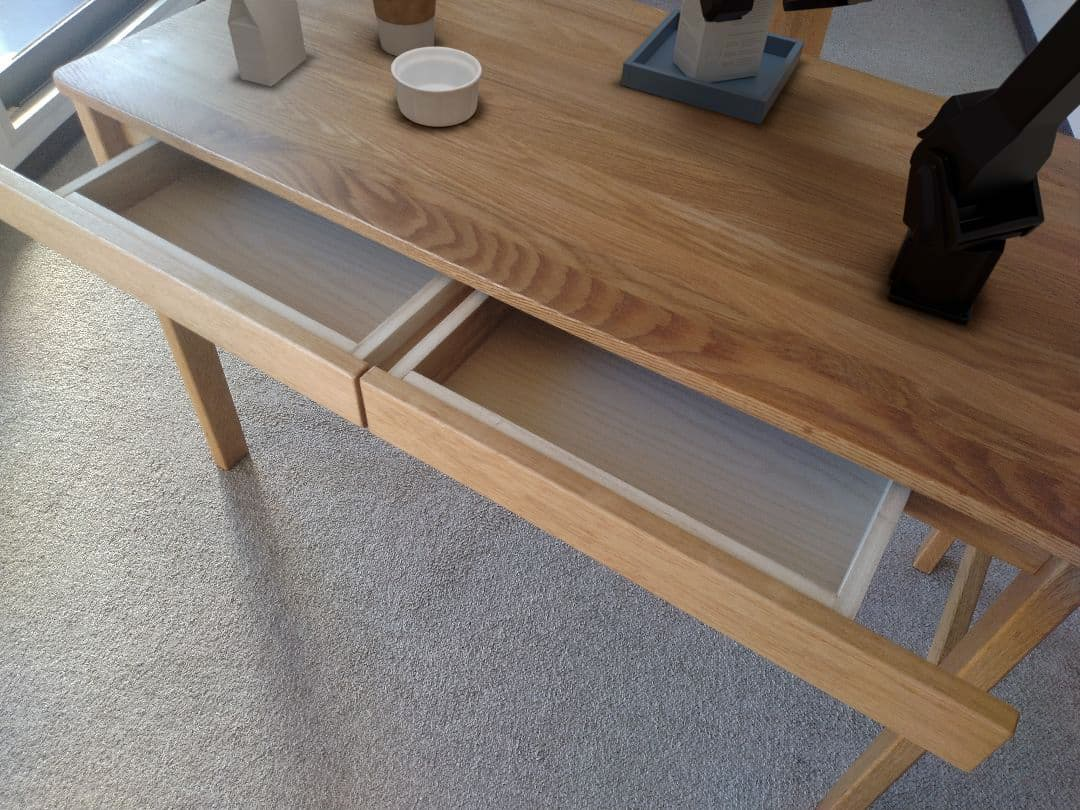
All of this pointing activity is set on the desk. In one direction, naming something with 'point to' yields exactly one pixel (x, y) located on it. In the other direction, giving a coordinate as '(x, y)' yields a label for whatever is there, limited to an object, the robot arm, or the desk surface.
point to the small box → (721, 43)
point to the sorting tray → (731, 97)
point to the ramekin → (436, 85)
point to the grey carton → (266, 39)
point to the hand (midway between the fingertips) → (745, 11)
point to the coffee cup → (405, 24)
